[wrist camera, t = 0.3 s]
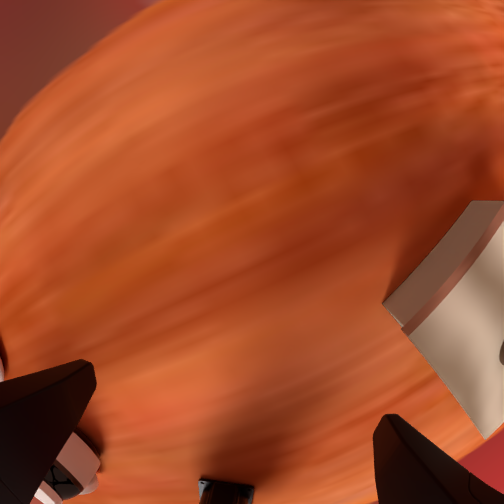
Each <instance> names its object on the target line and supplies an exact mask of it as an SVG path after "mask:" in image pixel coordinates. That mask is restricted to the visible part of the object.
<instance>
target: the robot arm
mask: <svg viewBox="0 0 504 504" xmlns="http://www.w3.org/2000/svg"><path fill="white" fill-rule="evenodd" d="M96 385H97V382H96V377H95V371H94V366H93V364H92V363H91V362H88V361H86V360H83V359H79V360H76V361H73V362H69V363H66V364H63V365H59V366H56V367H53V368H49V369H46V370H42V371H39V372H35V373H32V374H28V375H25V376H21V377H17V378H13V379H10V380H6V381H2V382H0V504H30V502H31V500H32V499H33V497H34V495H35V493H36V492H37V490H38V488H39V486H40V485H41V483H42V481H43V480H44V478H45V476H46V475H47V473H48V471H49V470H50V468H51V466H52V465H53V463H54V461H55V460H56V458H57V456H58V455H59V453H60V452H61V450H62V448H63V447H64V445H65V444H66V442H67V440H68V439H69V437H70V436H71V434H72V433H73V431H74V429H75V428H76V426H77V425H78V423H79V421H80V419H81V417H82V415H83V413H84V411H85V409H86V407H87V405H88V403H89V401H90V399H91V397H92V395H93V393H94V391H95V389H96ZM373 449H374V469H375V481H376V488H377V495H378V502H379V504H504V494H502V493H500V492H499V491H497V490H495V489H494V488H492V487H490V486H488V485H487V484H486V483H484V482H483V481H482V480H480V479H479V478H477V477H476V476H475V475H473V474H472V473H471V472H470V473H469V471H468V470H467V469H465V468H464V467H463V466H461V465H460V464H459V463H458V462H456V461H455V460H454V459H453V458H451V457H450V456H449V455H447V454H446V453H445V452H444V451H442V450H441V449H440V448H439V447H437V446H436V445H435V444H434V443H432V442H431V441H430V440H429V439H427V438H426V437H425V436H424V435H422V434H421V433H420V432H419V431H417V430H416V429H415V428H414V427H412V426H411V425H410V424H409V423H408V422H406V421H405V420H404V419H403V418H401V417H400V416H399V415H398V414H385V415H384V416H383V417H382V418H381V420H380V422H379V424H378V426H377V427H376V429H375V431H374V434H373ZM198 484H199V495H200V503H199V504H251V502H252V497H253V492H254V487H253V486H250V485H241V484H233V483H226V482H219V481H213V480H208V479H199V482H198Z"/></svg>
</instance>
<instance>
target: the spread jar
mask: <svg viewBox="0 0 504 504" xmlns="http://www.w3.org/2000/svg"><path fill="white" fill-rule="evenodd" d="M100 463H101V460H100V457H99V454H98V452H97V451H96V449H95V447H94V445H93V444H92V442H91V441H90V440H89V439H88V438H87V437H86V436H85V435H84V434H83V433H82V432H81V431H79V430H78V429H77V428H75V429H74V431H73V433H72V434H71V436H70V437H69V439H68V440H67V442H66V444H65V445H64V447H63V448H62V450H61V452H60V453H59V455H58V456H57V458H56V460H55V461H54V463H53V465H52V466H51V468H50V470H49V471H48V473H47V475H46V476H45V478H44V480H43V481H42V483H41V485H40V486H39V488H38V490H37V492H36V493H35V495H34V496H35V497H36V498H37V499H39V500H40V501H41V502H43V503H44V504H62V503H63V500H67V499H70V498H73V497H75V496H77V495H79V494H88V493H91V492H93V491H95V490H96V489H97V487H98V485H99V482H98V478H97V475H96V472H97V470H98V468H99V466H100Z"/></svg>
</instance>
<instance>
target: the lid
mask: <svg viewBox="0 0 504 504" xmlns="http://www.w3.org/2000/svg"><path fill="white" fill-rule="evenodd" d="M401 330H402V331H403V332H404V333H405V334H406V336H407V337H408V338H409V339H410V341H411V342H412V343H413V344H414V345H415V347H416V348H417V349H418V350H419V352H420V353H421V354H422V355H423V357H424V358H425V359H426V360H427V362H428V363H429V364H430V365H431V367H432V368H433V369H434V371H435V372H436V373H437V374H438V376H439V377H440V378H441V380H442V381H443V382H444V384H445V385H446V386H447V388H448V389H449V390H450V392H451V393H452V394H453V396H454V397H455V398H456V400H457V401H458V402H459V404H460V405H461V407H462V408H463V409H464V411H465V412H466V413H467V415H468V416H469V418H470V419H471V421H472V422H473V423H474V425H475V426H476V428H477V429H478V431H479V432H480V434H481V435H482V436H483V438H484V439H485V440H486V439H487V438H488V437H489V436H490V435H491V434H492V433H493V432H494V431H495V430H496V429H497V428H498V427H499V426H500V425H501V424H502V423H503V422H504V203H503V205H502V206H501V208H500V210H499V211H498V213H497V214H496V216H495V217H494V219H493V220H492V222H491V223H490V225H489V226H488V228H487V229H486V230H485V232H484V233H483V235H482V236H481V237H480V239H479V240H478V242H477V243H476V244H475V246H474V247H473V248H472V250H471V251H470V252H469V253H468V255H467V256H466V257H465V259H464V260H463V261H462V262H461V264H460V265H459V266H458V267H457V269H456V270H455V271H454V272H453V273H452V275H451V276H450V277H449V278H448V279H447V280H446V282H445V283H444V284H443V285H442V286H441V287H440V288H439V290H438V291H437V292H436V293H435V294H434V295H433V296H432V297H431V298H430V300H429V301H428V302H427V303H426V304H425V305H424V306H423V307H422V308H421V309H420V310H419V311H418V312H417V313H416V314H415V315H414V316H413V317H412V318H411V319H410V320H409V321H408V322H407V323H406V324H405V325H404V326H403V327H402V328H401Z"/></svg>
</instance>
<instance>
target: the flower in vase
mask: <svg viewBox="0 0 504 504" xmlns="http://www.w3.org/2000/svg"><path fill="white" fill-rule="evenodd" d="M2 381H4V368H3V364H2V361H1V358H0V382H2Z"/></svg>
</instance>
